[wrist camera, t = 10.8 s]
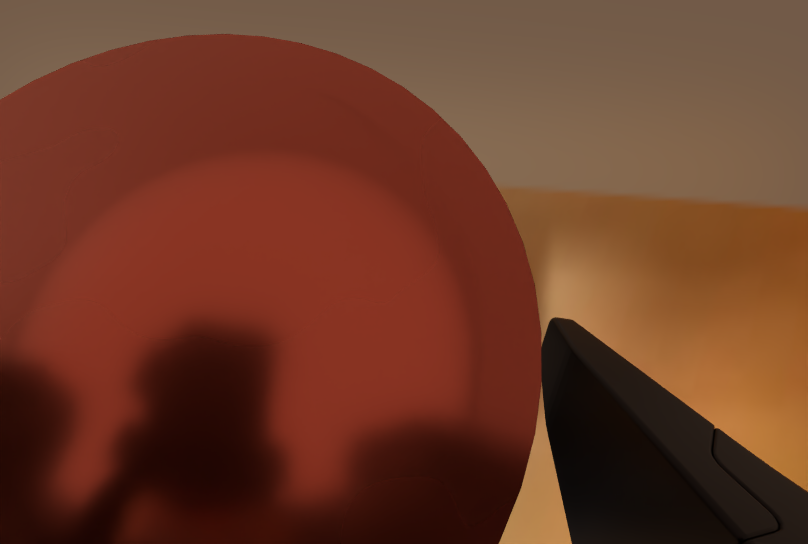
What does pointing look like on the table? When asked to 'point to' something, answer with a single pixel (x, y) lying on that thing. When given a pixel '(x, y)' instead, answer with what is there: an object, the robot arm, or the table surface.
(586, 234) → the table surface
